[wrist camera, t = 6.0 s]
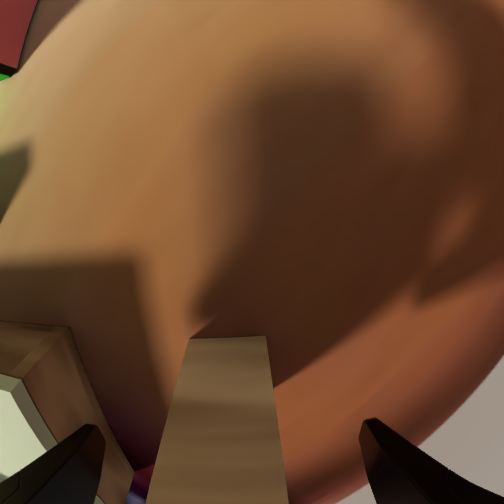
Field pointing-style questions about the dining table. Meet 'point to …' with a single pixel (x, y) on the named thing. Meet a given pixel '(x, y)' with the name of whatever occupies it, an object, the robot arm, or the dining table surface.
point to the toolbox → (62, 393)
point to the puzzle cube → (13, 32)
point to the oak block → (221, 429)
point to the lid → (21, 429)
